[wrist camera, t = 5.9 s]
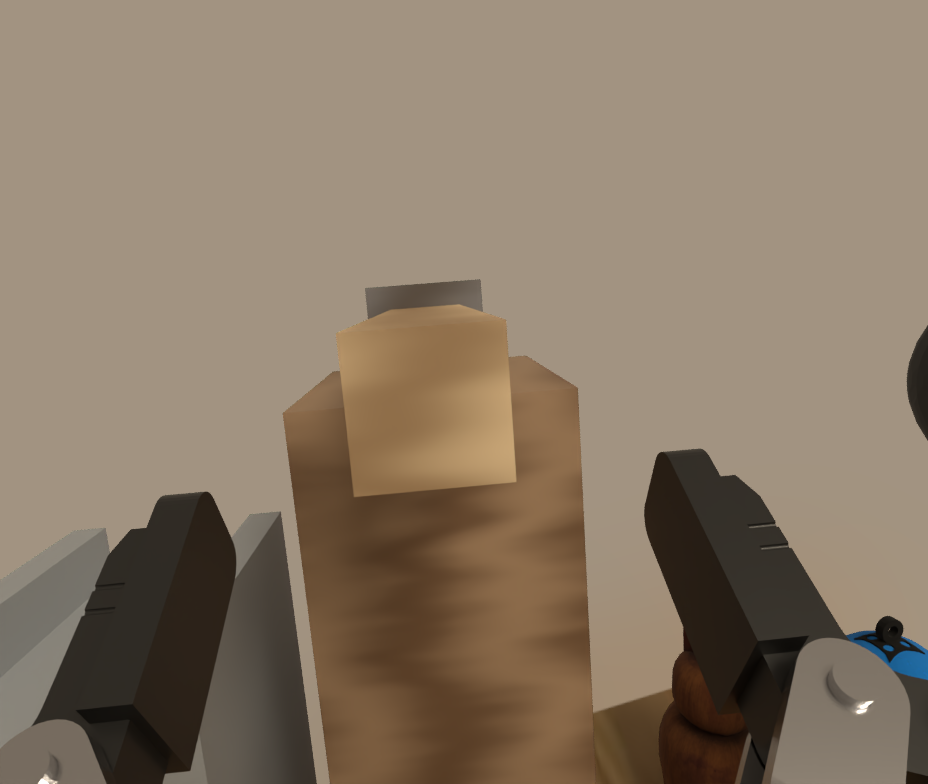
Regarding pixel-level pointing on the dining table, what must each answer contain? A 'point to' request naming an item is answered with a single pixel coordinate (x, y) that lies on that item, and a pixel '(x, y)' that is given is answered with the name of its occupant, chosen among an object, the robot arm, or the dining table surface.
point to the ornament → (894, 648)
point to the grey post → (236, 669)
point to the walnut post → (450, 604)
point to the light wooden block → (427, 391)
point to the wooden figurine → (698, 731)
